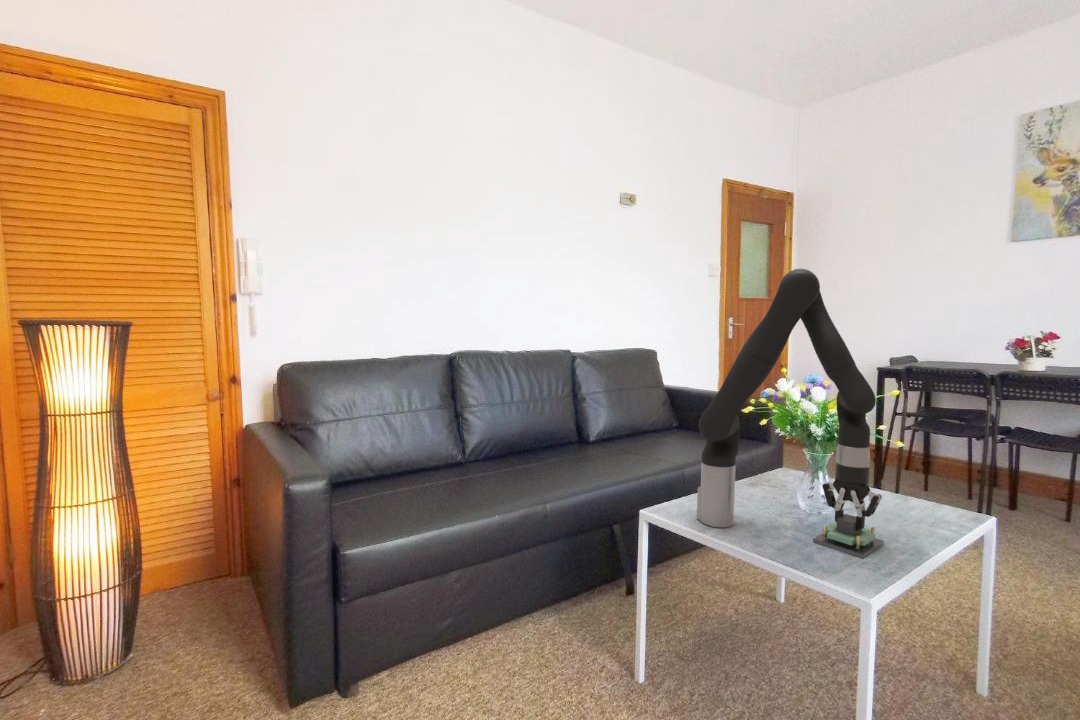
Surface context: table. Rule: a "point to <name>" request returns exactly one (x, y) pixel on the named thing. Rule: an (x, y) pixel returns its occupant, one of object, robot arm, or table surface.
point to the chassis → (849, 549)
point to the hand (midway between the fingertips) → (849, 526)
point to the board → (849, 538)
